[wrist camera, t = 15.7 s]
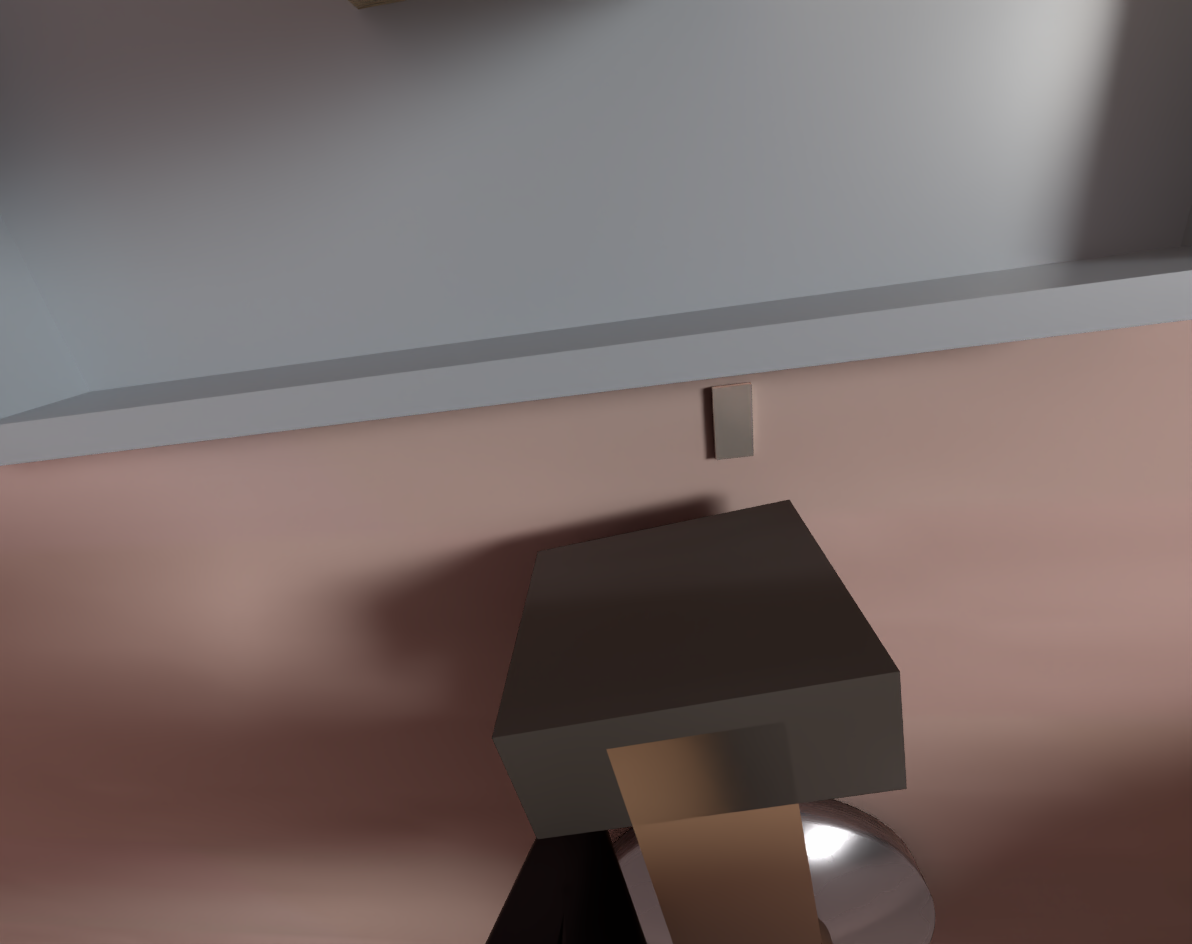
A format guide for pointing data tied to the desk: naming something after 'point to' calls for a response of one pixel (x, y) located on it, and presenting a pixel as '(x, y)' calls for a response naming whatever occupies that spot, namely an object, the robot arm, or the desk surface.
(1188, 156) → the stop tray
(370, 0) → the stop block
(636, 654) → the crank lever
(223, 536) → the desk surface
